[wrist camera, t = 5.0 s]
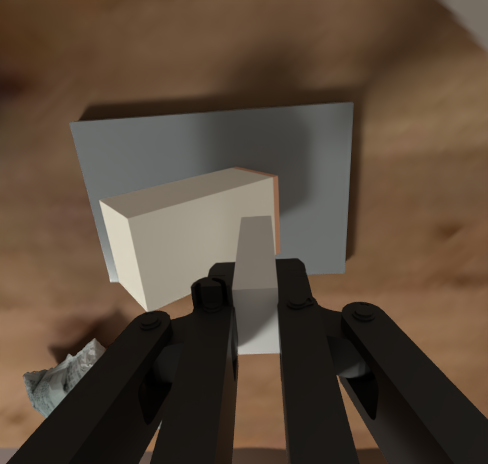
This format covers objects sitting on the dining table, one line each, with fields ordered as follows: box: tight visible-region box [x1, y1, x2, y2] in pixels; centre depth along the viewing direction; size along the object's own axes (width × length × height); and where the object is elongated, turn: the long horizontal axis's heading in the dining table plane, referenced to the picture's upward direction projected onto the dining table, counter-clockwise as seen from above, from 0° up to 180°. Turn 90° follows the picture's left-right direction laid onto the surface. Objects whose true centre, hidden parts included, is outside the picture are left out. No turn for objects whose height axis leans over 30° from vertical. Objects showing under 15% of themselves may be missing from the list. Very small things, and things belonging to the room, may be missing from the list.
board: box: [69, 101, 354, 282], centre depth 24 cm, size 18×12×1 cm, turn 94°
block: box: [99, 167, 280, 312], centre depth 20 cm, size 4×5×9 cm
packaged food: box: [23, 338, 162, 429], centre depth 31 cm, size 9×12×5 cm
